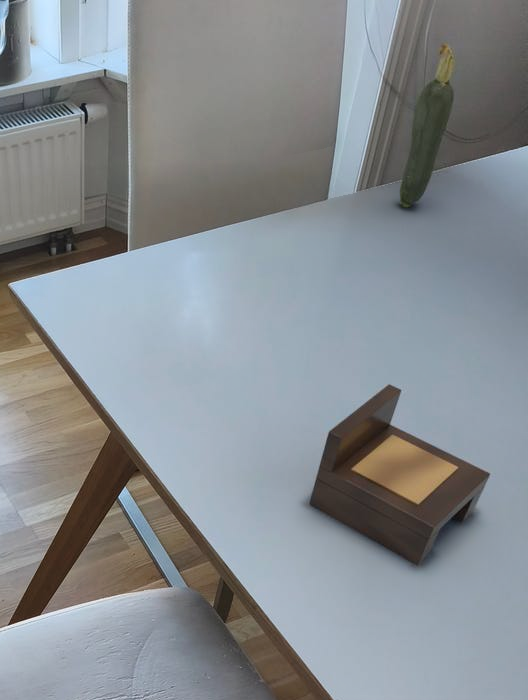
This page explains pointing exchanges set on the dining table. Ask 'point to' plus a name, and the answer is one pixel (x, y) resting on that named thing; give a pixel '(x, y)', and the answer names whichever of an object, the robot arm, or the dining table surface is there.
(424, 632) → the dining table surface
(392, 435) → the wooden toy chair
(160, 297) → the dining table surface
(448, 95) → the vegetable
